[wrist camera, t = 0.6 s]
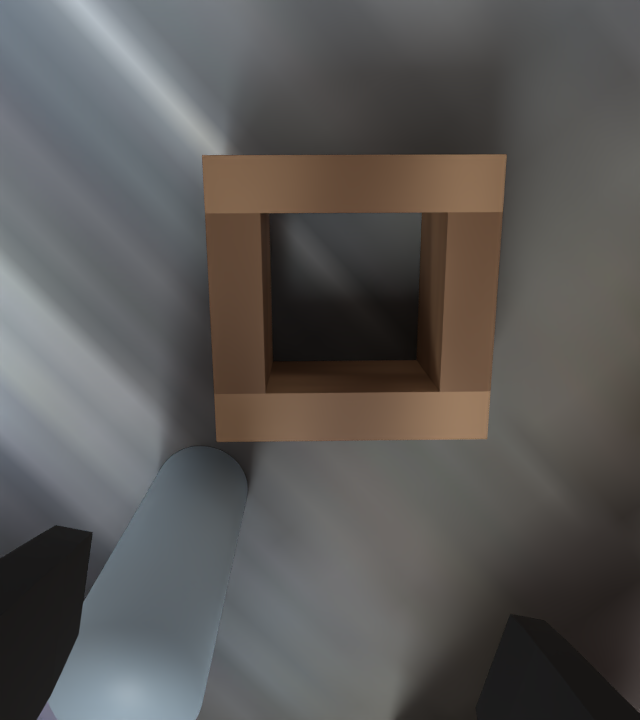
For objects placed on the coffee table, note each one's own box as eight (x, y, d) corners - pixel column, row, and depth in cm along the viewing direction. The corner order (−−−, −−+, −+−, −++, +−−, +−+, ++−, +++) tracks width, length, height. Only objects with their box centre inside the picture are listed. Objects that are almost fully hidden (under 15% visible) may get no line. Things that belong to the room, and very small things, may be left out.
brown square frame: (232, 401, 20) (216, 441, 16) (222, 166, 18) (201, 155, 15) (455, 399, 20) (487, 438, 17) (468, 165, 18) (507, 154, 15)
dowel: (160, 529, 21) (54, 754, 12) (153, 446, 20) (36, 623, 12) (249, 528, 21) (207, 752, 12) (246, 445, 20) (199, 620, 12)
